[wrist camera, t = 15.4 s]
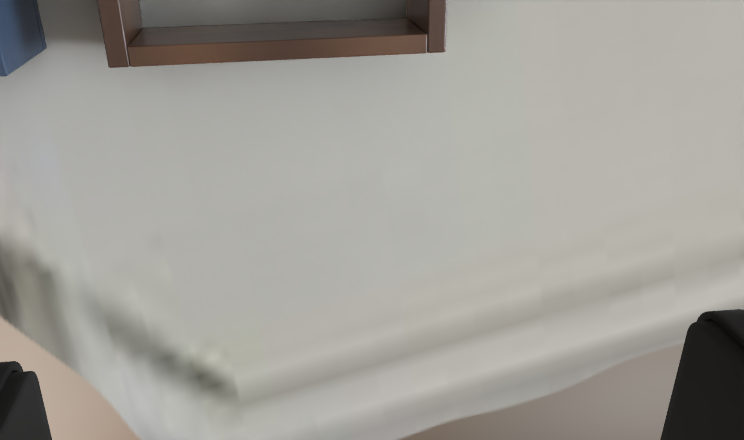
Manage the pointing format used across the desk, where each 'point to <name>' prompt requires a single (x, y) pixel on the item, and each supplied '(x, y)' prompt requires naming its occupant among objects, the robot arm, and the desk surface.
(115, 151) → the desk surface
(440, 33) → the crate
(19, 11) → the bin
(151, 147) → the desk surface
